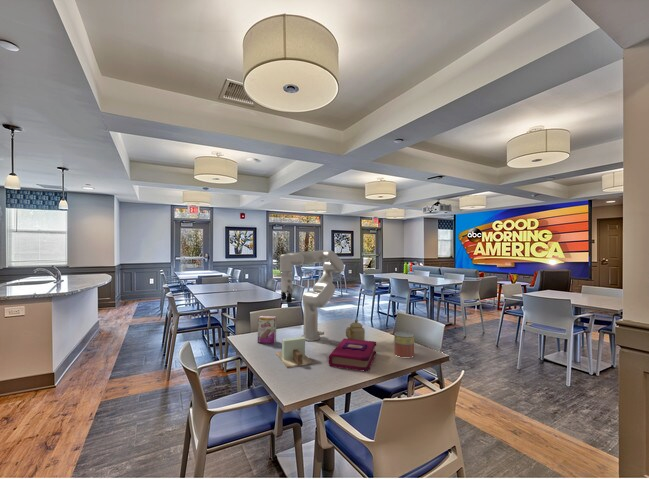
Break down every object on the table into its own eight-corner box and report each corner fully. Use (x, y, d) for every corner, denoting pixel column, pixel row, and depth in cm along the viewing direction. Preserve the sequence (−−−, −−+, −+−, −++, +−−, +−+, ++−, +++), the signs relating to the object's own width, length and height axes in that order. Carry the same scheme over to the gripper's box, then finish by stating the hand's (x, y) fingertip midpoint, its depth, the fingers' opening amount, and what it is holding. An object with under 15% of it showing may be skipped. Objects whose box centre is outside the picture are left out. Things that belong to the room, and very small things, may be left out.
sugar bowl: (362, 347, 187) (362, 322, 187) (345, 345, 190) (345, 321, 190) (365, 339, 201) (365, 317, 202) (349, 338, 204) (349, 316, 204)
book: (328, 366, 157) (328, 352, 157) (342, 349, 183) (342, 336, 183) (368, 372, 150) (368, 357, 150) (376, 353, 177) (376, 340, 177)
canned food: (396, 350, 182) (396, 330, 182) (415, 353, 177) (415, 332, 177) (392, 356, 172) (392, 335, 172) (412, 359, 167) (412, 338, 167)
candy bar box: (257, 343, 192) (257, 317, 192) (259, 340, 197) (260, 315, 197) (274, 344, 191) (274, 318, 191) (276, 341, 196) (276, 316, 196)
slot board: (298, 350, 179) (298, 340, 180) (312, 363, 159) (312, 352, 160) (275, 353, 174) (276, 343, 174) (287, 367, 154) (287, 356, 154)
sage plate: (302, 354, 171) (302, 336, 171) (304, 356, 167) (305, 338, 167) (281, 357, 166) (282, 339, 166) (284, 359, 162) (284, 341, 163)
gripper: (296, 274, 182) (297, 303, 182) (287, 272, 197) (287, 298, 197) (285, 275, 178) (285, 304, 178) (276, 272, 194) (276, 299, 194)
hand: (286, 301), depth 188 cm, fingers open, 9 cm apart
